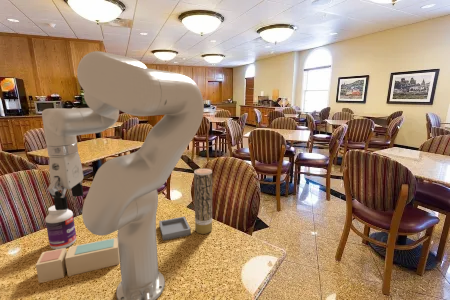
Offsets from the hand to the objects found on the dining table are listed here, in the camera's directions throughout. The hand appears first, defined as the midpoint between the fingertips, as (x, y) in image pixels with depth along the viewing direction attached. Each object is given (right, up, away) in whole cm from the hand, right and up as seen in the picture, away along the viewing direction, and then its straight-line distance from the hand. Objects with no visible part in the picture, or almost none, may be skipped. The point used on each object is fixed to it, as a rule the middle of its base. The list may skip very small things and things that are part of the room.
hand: (70, 202), depth 73 cm
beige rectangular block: (+8, -20, +1) cm, 21 cm away
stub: (-2, -21, -4) cm, 21 cm away
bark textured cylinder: (+41, -16, +20) cm, 48 cm away
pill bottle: (-9, -18, +11) cm, 23 cm away
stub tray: (+29, -16, +20) cm, 38 cm away
